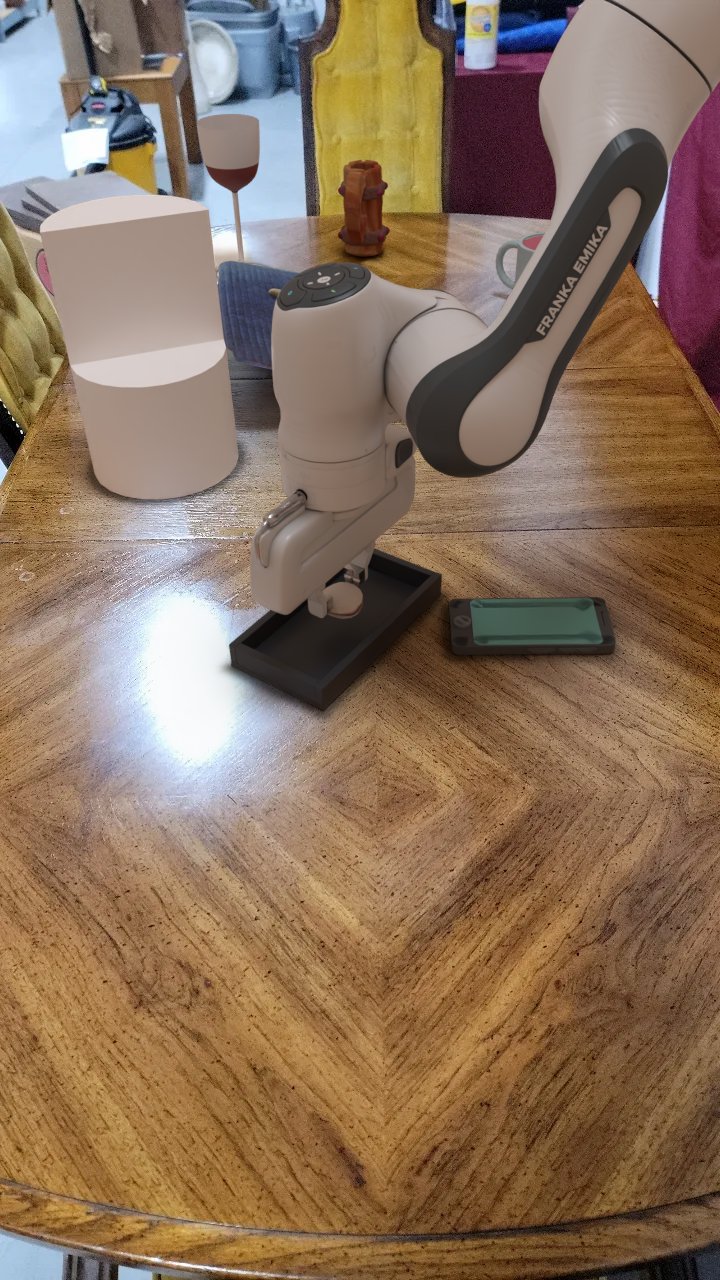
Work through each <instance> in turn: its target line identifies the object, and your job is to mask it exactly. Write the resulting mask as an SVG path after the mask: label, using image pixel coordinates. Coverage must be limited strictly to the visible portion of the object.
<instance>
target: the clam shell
mask: <svg viewBox="0 0 720 1280" xmlns="http://www.w3.org/2000/svg"><path fill="white" fill-rule="evenodd" d="M322 592H323V593H324V594H329V595H331V596H333V603H332V605H333V609H332V610H331V611H330V612H329V613H328V615H330V616H333V617H336V618H342V619H346V618H352V617H353V616H355V615H357V614H358V613H359V612H360V611H361V609H362V607H363V601H362V599H363V594H362V592H361V590H360V589H359V588H358V587H357V586H356V585H354V584H351V583H348V582H338V583H335V584H332V585H331V586H329V587H327V588H326V589H324V590H323V591H322Z"/></svg>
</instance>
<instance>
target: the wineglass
mask: <svg viewBox="0 0 720 1280" xmlns="http://www.w3.org/2000/svg"><path fill="white" fill-rule="evenodd" d="M196 129H197V136H198V141H199V146H200V147H199V148H200V152H201V155H202V159H203V163H204V166H205V168H206V171H207V173H208V176H209V177H210V178H211V179H212V180H213V181H214V183H216V184H218V185H219V186H221V187H223V188H225V189H227V190H228V191H229V192H231V195H232V206H233V207H232V208H233V215H234V223H235V224H234V226H235V234H236V235H235V236H236V245H237V255H238V262H243V263H245V255H244V243H243V233H242V224H241V215H240V203H239V193H238V192H239V191H240V190H243V188H245V187H247V186H248V185H249V184H251V183H252V182H253V180H255V178H256V176H257V173H258V170H259V165H260V153H261V151H260V150H261V146H260V145H261V144H260V143H261V141H260V139H261V137H260V135H261V134H260V120H259V118H257V117H255V116H253V115H248V114H243V113H223V114H222V113H221V114H212V115H209V116H204V117H201V118H199V119H198V120H196ZM253 264H254V265H259V266H262V264H257V263H253ZM216 277H217V278H218V277H219V270H218V271H217V272H216Z"/></svg>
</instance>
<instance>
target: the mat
mask: <svg viewBox="0 0 720 1280" xmlns="http://www.w3.org/2000/svg"><path fill="white" fill-rule="evenodd" d="M254 264H255V263H247V262H244V263H243V262H239V261H237V260H226V261H223V262H220V264H218V267H217V269H218V271H219V277H218V276H217V285H218V294H219V302H220V311H221V319H222V328H223V336H224V342H225V345H226V349H227V350H230V351H231V352H232V354H233V357H234V359H235V361H236V362H238V363H243V364H245V365H248V366H249V365H250V366H254V367H259V368H263V369H268V370H272V353H271V335H272V319H273V311H274V306H275V302H276V299H277V297H278V294H279V292H280V291H281V289H282V288H283V287H284V285H285V284H286V283H287V282H288V281H290V280H291V279H292V278H294V277H295V276H296V275H297V274H299V273H300V272H299V271H295V270H294V271H292V270H287V269H282V268H277V267H270V266H264V265H261V266H259V265H260V264H258V265H254Z"/></svg>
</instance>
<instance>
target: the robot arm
mask: <svg viewBox="0 0 720 1280" xmlns="http://www.w3.org/2000/svg"><path fill="white" fill-rule="evenodd" d="M719 83H720V0H583V2H582V3H581V5H580V7H579V8H578V10H577V11H576V13H575V14H574V15H573V18H572V19H571V20H570V22H569V23H568V25H567V26H566V28H565V30H564V31H563V33H562V35H561V37H560V38H559V40H558V42H557V43H556V46H555V48H554V49H553V53H552V54H551V57H550V59H549V62H548V64H547V65H546V69H545V71H544V74H543V76H542V78H541V81H540V84H539V88H538V114H539V121H540V126H541V131H542V134H543V138H544V141H545V144H546V146H547V149H548V151H549V154H550V157H551V160H552V163H553V169H554V174H555V185H556V186H555V188H556V189H555V201H554V206H553V210H552V214H551V218H550V220H549V223H548V225H547V228H546V230H545V231H544V232H545V234H544V236H543V237H542V239H541V241H540V243H539V244H538V246H537V248H536V250H535V251H534V253H533V255H532V256H531V258H530V260H529V262H528V263H527V265H526V267H525V269H524V270H523V272H522V274H521V276H520V277H519V279H518V281H517V283H516V284H515V286H514V288H513V289H511V291H510V293H509V295H508V297H507V298H506V300H505V302H504V303H503V304H502V307H501V309H500V310H499V312H498V314H497V316H496V317H495V319H494V320H493V322H492V323H491V324H490V325H489V326H488V325H487V324H486V323H485V322H484V320H483V319H482V318H480V316H479V315H477V313H475V312H474V311H473V310H472V309H471V308H470V307H469V306H468V305H467V304H465V303H464V302H463V301H462V300H461V299H459V298H457V297H456V296H455V295H453V294H452V293H450V292H447V291H444V290H441V289H437V288H414V287H407V286H404V285H400V284H397V283H395V282H392V281H389V280H387V279H385V278H383V277H381V276H379V275H377V274H376V273H374V272H372V270H370V268H369V267H367V266H365V265H362V264H361V263H357V262H356V263H355V262H349V261H348V262H346V261H343V262H335V261H334V262H327V263H322V264H319V265H314V266H312V267H309V268H307V269H305V270H302V271H301V272H299V274H297V275H296V276H295V277H294V278H292V279H291V280H290V281H288V282H287V283H286V284H285V285H284V287H283V288H282V289H281V291H280V292H279V294H278V297H277V299H276V302H275V306H274V311H273V319H272V335H271V353H272V369H271V372H272V373H271V375H272V383H273V384H272V385H273V387H272V388H273V391H274V392H273V393H274V396H275V399H276V401H277V404H278V406H279V411H280V421H279V424H278V430H277V443H278V455H279V467H280V477H281V488H282V491H283V493H284V495H285V496H286V497H287V498H285V499H284V500H283V501H282V502H281V503H280V504H279V505H277V507H275V508H273V509H271V510H269V511H267V513H265V515H264V516H263V518H262V522H261V523H260V524H259V525H258V526H257V528H256V529H255V532H254V533H253V535H252V539H251V544H250V554H249V555H250V557H249V582H250V583H249V584H250V594H251V598H252V600H253V601H254V602H255V603H256V604H258V605H260V606H262V607H263V608H265V609H268V610H269V611H270V610H272V611H274V612H277V613H280V614H283V615H287V614H289V613H291V612H292V611H293V610H295V609H296V608H297V607H298V606H299V605H300V604H301V603H303V602H304V601H305V600H306V599H308V609H309V612H310V613H311V614H313V615H315V616H317V617H319V618H324V617H325V616H326V615H327V614H328V613H329V612H330V611H331V610H332V609H333V605H332V603H333V596H331V595H329V594H324V593H323V592H322V591H323V590H324V589H325V587H326V586H325V583H326V582H327V581H328V580H330V579H331V578H332V577H333V576H334V575H335V574H337V573H338V572H339V571H340V570H341V569H342V568H344V573H345V575H344V580H345V582H348V583H351V584H354V585H356V586H357V587H358V586H359V585H361V584H362V583H363V582H364V581H365V580H366V579H367V578H368V565H369V562H370V559H371V557H372V554H373V551H374V548H375V549H376V541H377V540H378V539H379V538H380V537H381V536H383V535H384V534H385V533H386V532H387V531H388V530H389V529H391V528H392V527H394V525H396V523H398V522H399V521H400V520H401V519H402V518H403V517H405V516H406V515H407V514H408V513H409V512H410V510H411V507H412V505H413V502H414V499H415V492H416V460H415V457H414V455H415V454H416V453H417V450H418V451H419V453H420V455H421V457H422V458H423V459H424V461H425V462H426V463H427V464H428V465H429V466H430V467H431V468H433V469H434V470H435V471H437V472H439V473H440V474H444V475H446V476H448V477H452V478H453V477H454V478H459V479H460V478H461V479H471V478H479V477H483V476H488V475H490V474H491V475H492V474H494V473H497V472H498V471H501V470H503V469H505V468H507V467H509V466H510V465H512V464H513V463H515V462H516V461H517V460H518V459H520V458H521V457H522V456H523V455H524V454H525V453H526V452H527V451H528V450H529V449H530V447H531V446H532V445H533V443H534V442H535V441H536V439H537V437H538V436H539V434H540V432H541V430H542V428H543V426H544V424H545V422H546V419H547V416H548V414H549V412H550V408H551V405H552V402H553V400H554V396H555V393H556V391H557V388H558V385H559V384H560V381H561V380H562V377H563V375H564V373H565V371H566V369H567V367H568V365H569V364H570V362H571V361H572V359H573V357H574V355H575V354H576V352H577V351H578V348H579V347H580V346H581V344H582V341H584V339H585V337H586V335H587V334H588V332H589V330H590V328H591V327H592V325H593V323H594V322H595V320H596V319H597V317H598V315H599V313H600V312H601V310H602V309H603V307H604V305H605V303H606V302H607V300H608V299H609V297H610V295H611V293H612V292H613V290H614V289H615V287H616V285H617V284H618V282H619V280H620V278H621V277H622V276H623V274H624V272H625V270H626V268H627V267H628V266H629V263H630V262H631V260H632V258H633V257H634V255H635V253H636V252H637V250H638V248H639V247H640V244H641V243H642V241H643V239H644V237H645V236H646V234H647V233H648V230H649V229H650V227H651V225H652V223H653V221H654V219H655V217H656V215H657V213H658V210H659V208H660V206H661V203H662V201H663V198H664V196H665V193H666V189H667V187H668V179H669V169H670V166H671V163H672V161H673V159H674V156H675V154H676V152H677V150H678V148H679V145H680V144H681V142H682V140H683V138H684V136H685V135H686V133H687V131H688V129H689V128H690V126H691V124H692V123H693V122H694V119H695V118H696V116H697V115H698V113H699V112H700V110H701V109H702V107H703V106H704V104H705V103H706V102H707V100H708V99H709V97H710V95H711V94H712V93H713V92H714V90H715V89H716V87H717V86H718V84H719ZM396 421H398V422H399V421H402V422H403V423H404V424H405V426H406V427H407V428H404V427H402V426H399V425H396V424H393V422H396Z"/></svg>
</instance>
